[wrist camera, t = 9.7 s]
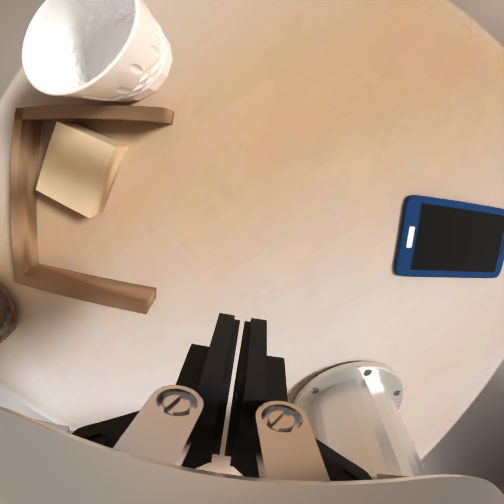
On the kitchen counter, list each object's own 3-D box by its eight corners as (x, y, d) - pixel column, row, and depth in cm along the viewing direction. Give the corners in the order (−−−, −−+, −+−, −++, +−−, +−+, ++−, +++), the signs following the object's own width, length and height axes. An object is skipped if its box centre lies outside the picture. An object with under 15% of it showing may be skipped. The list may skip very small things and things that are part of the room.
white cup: (89, 114, 23) (15, 106, 14) (96, 31, 21) (32, -7, 11) (178, 105, 23) (132, 83, 14) (182, 17, 21) (146, -41, 11)
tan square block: (105, 210, 26) (89, 218, 23) (53, 184, 25) (35, 189, 22) (129, 146, 24) (115, 146, 21) (74, 122, 24) (56, 121, 21)
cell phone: (403, 192, 25) (407, 194, 25) (510, 209, 25) (514, 211, 25) (390, 273, 28) (393, 276, 27) (495, 275, 28) (499, 278, 27)
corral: (155, 298, 28) (145, 314, 25) (32, 271, 28) (15, 282, 25) (174, 111, 23) (163, 107, 20) (35, 109, 23) (15, 108, 20)
